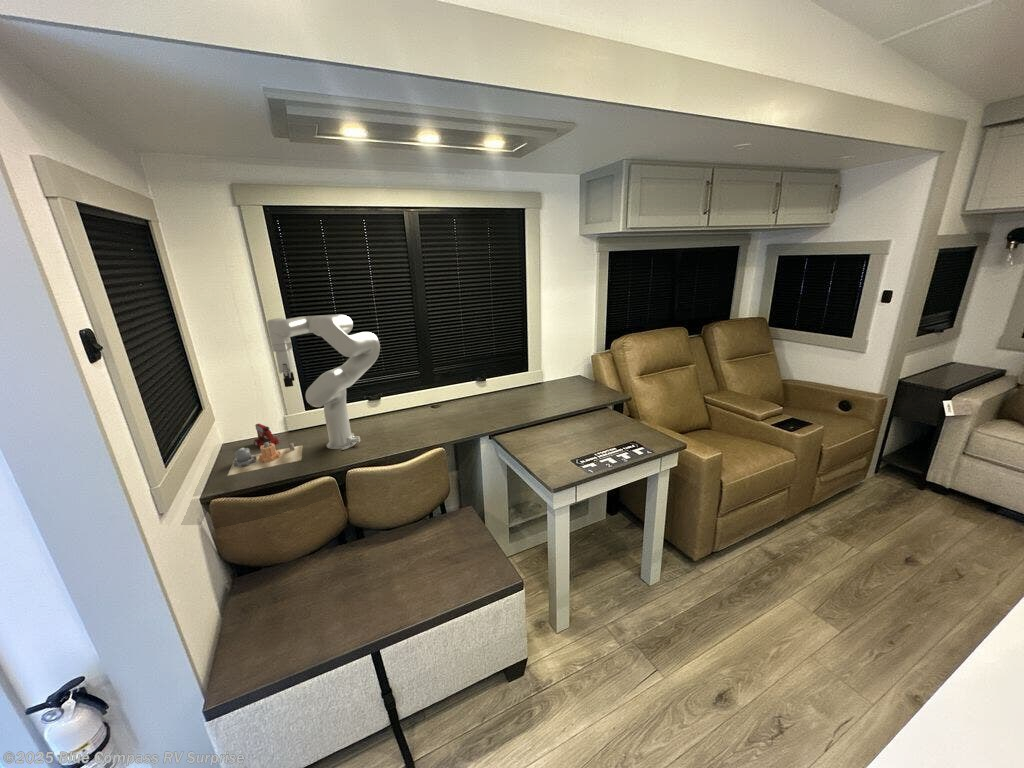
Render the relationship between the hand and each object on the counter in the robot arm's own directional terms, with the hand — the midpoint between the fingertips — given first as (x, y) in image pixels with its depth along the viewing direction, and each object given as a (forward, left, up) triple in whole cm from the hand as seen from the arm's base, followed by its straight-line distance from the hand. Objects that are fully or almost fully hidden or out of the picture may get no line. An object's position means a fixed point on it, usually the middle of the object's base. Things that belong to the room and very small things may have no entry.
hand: (290, 383), depth 175 cm
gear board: (+3, +21, -28) cm, 35 cm away
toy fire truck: (+13, +6, -29) cm, 32 cm away
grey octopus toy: (+11, +24, -27) cm, 38 cm away
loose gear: (+3, +20, -27) cm, 34 cm away
